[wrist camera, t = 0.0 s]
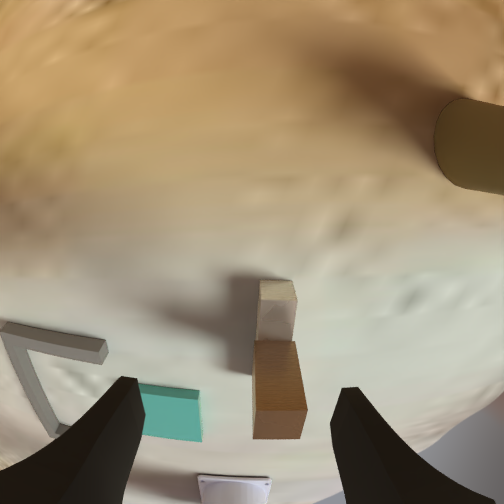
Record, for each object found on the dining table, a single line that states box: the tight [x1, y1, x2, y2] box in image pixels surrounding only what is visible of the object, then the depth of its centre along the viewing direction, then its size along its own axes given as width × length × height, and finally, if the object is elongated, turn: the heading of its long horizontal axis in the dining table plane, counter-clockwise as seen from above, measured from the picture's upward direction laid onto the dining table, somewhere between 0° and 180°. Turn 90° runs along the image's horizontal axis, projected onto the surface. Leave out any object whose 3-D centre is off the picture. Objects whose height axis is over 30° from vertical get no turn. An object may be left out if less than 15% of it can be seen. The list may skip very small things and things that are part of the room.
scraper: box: [252, 280, 308, 439], centre depth 18 cm, size 8×2×8 cm, turn 177°
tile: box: [138, 384, 203, 442], centre depth 24 cm, size 6×6×2 cm
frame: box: [0, 322, 109, 439], centre depth 24 cm, size 14×10×2 cm
